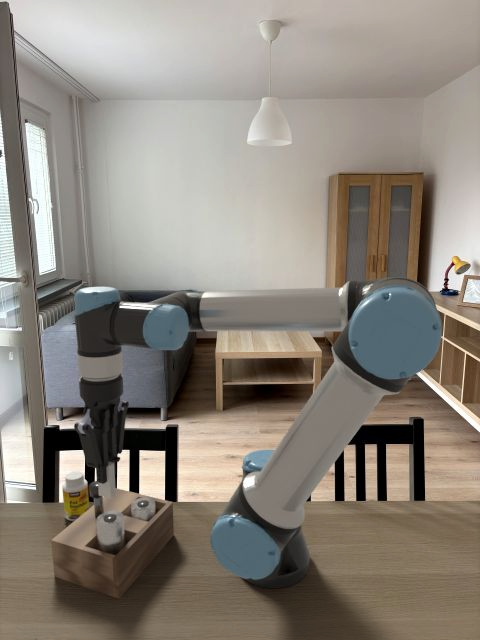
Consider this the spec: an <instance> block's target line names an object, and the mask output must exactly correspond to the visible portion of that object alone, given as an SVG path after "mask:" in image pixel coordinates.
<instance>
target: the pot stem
mask: <svg viewBox="0 0 480 640" xmlns="http://www.w3.org/2000/svg"><path fill="white" fill-rule="evenodd" d="M88 492H89V497H90V498H92V499H93V505H94V510H95V517H96V518H97V517H98V516H99V515H101V514H102V513H104V507H103V496H99V490H98V482H97V480H95V481H92V482H90V483H89V484H88Z"/></svg>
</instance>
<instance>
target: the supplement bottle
mask: <svg viewBox="0 0 480 640" xmlns="http://www.w3.org/2000/svg"><path fill="white" fill-rule="evenodd" d="M64 477H65V482H63V484H62V500H63V501H62V503H63V514H64V518H65V519H66V520H68V521H70V522H74V521H75V520H76V519H78V518H79V517H80V516H81V515H82V514H84V513H85V512H86V511H87V510H88V509H90V501H89V497H90V496H89V483H88V481H87V480H86V479H85V478H84V477H85V476H84V473H83V472H82V471H80V470H75V471H70V472H68V473H67V474H65V476H64Z"/></svg>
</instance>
